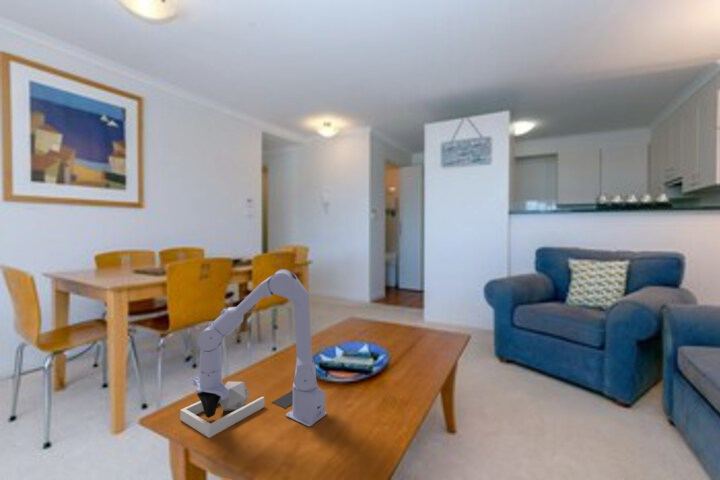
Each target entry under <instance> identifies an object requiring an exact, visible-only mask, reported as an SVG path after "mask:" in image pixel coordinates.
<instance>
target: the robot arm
mask: <svg viewBox="0 0 720 480" xmlns="http://www.w3.org/2000/svg"><path fill="white" fill-rule="evenodd" d="M309 294H310V293H309V292H308V290H307V288H305V286H304V285H303V283H301V281H300V280H299V278H298V277H297V275H296V274H295V273H293V272H291V271H290V270H289V269H284V268H283V269H278V270H277V271H276V272H275V273H274V274H273V275H270V276H269V277H267V278H266V279H265V280H263V281H262V282H260V283H259V284H258V285H257V286H256V287H255V288H254V289H253V290H252V291H251V292H250V293H249V294H247V296H245V298H244V299H243V300H242V301H241V302H240V303H239V304H238V305H237V306H229V307H227V308H224V309H222V310H221V311H220V315H219V316H218V317H217V318H216V319H215V320H213V321H212V320H211V321H210V322H209V323H208V324H207V327H206V328H205V329H204V330H202V331H201V332H200V333H199V335H198V337H197V339H196V341H197V342H196V344H197V347H198V348H199V376H196V377H193V378H192V385H193V386H197V387H196V388H195V392H197V395H196V396H197V397H198V399H199V401H201V402H202V405H203V408H204V411H203V412H204V415H205V417H206V418H207V419H210V418H212V417H214V416H215V415H216V411H217V408H218V405H219V404H218V402H219V400H220V398H221V399H226V398H228V397H229V390H228V389H227V388H226V387H225V384H224V383H223V381H222V375H223V374H222V370H223V369H222V366H223V365H222V364H223V363H222V361H223V360H222V359H223V357H222V356H223V352H222V346H223V345H222V342H223V341H224V339H225V338H226V337H228V336H229V335H230V334H231V333H232V332H233V331H234V330H236V329H237V328H238V327H239V326H240V325H241V324H242V323H243V322H244V315H245V314H246V313H248V311H250V310H251V309H252V308H253V307H254V306H255V305H256V304H257V303H258V302H259V301H260V300H262V299H263V298H267V297H269V298H270V297H272V296H273V295H276V296H279V297H283V298H285V299H287V300H289V302H291V303H292V304H293V311H294V312H293V313H294V328H295V329H294V332H295V333H294V335H295V351H296V364H295V367H294V369H295V371H294V377H293V383H292V390H293V403H292V405H291V406H292V410H290V411H288V412H287V413H286V414H285V417H287V418H290V419H291V420H293V421H296V422H298V423H301V424H302V425H304V426H307V427H311V426H313V425H314V424H316V423H317V422H318V421H319V420H321V419H322V418H323V417H325V416H327V415H328V414H327V413H328V412H327V411H326V393H325V391H324V390H323V389H321V388H320V386H318V381H317V375H316V367H317V366H316V362H315V360H314V359H313V351H312V350H313V349H312V348H313V347H312V330H311V314H310V313H311V312H310V311H311V310H310V295H309Z"/></svg>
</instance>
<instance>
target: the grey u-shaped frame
mask: <svg viewBox="0 0 720 480" xmlns="http://www.w3.org/2000/svg"><path fill="white" fill-rule="evenodd" d="M265 403H266V402H265V396H261V397H259V398H257V399H255V400H253V401H251V402H249V403H246V404H244V405H243V407H241V408H239V409H238V410H236V411H231V412H230V413H228V414H226V415H224V416H222V417H220V418H219V419H217V420H215V421H213V422H211V423H210V422H209V421H206V420H205V419H203V418H202V417H200V416H198V414H200V413H202V412H204V408H203V405H202V402H201V400H199V401H196V402H195V403H192V404H190V405H188V406H186V407H183V408H181V409H180V410H179V413H180V417H179V419H180V421H181V422H183V423H184V424H187V426H189V427H190V428H193V429H194V430H196V431H197V432H199V433H201V434H202V435H203V436H205V437H207V438H208V439H210V438H212V437H214V436H215V435H216V434H219V433H220V432H222V431H224V430H227V429H228V428H230V427H231V426H233V425H235V424H236V423H239V422H240V421H242V420H244V419H246V418H247V417H249V416H250V415H253V414H255V413H256V412H258V411H259V410H262V409H263V408H265V405H266V404H265ZM219 404H220V402H218V405H219Z"/></svg>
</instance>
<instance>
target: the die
mask: <svg viewBox="0 0 720 480" xmlns="http://www.w3.org/2000/svg"><path fill="white" fill-rule="evenodd" d="M224 385H225V387H226V388H227V389H228V390H229V397H228V398H226V399H221V398H220V400H219V402H220V403H219V404H220V407H221V409H222V411H223V412H234V411H236V410H238V409H239V408H241V407H243V406H245V405H246V402H247V401H248V400H249V397H250V393H249V391H248V388H247V386H246V383H245V382H244V381H230V380H229V381H226V383H225V384H224Z"/></svg>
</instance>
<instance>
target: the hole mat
mask: <svg viewBox="0 0 720 480" xmlns="http://www.w3.org/2000/svg"><path fill="white" fill-rule="evenodd" d="M271 403H272V404H274V405H276V406H279V407H280V408H283V409H288V408H289V407H290V406H292V403H293V389H292V390H291V391H289V392H288V393H286V394H284V395H282V396H280V397H279V398H277V399H275V400H273V401H271Z"/></svg>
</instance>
